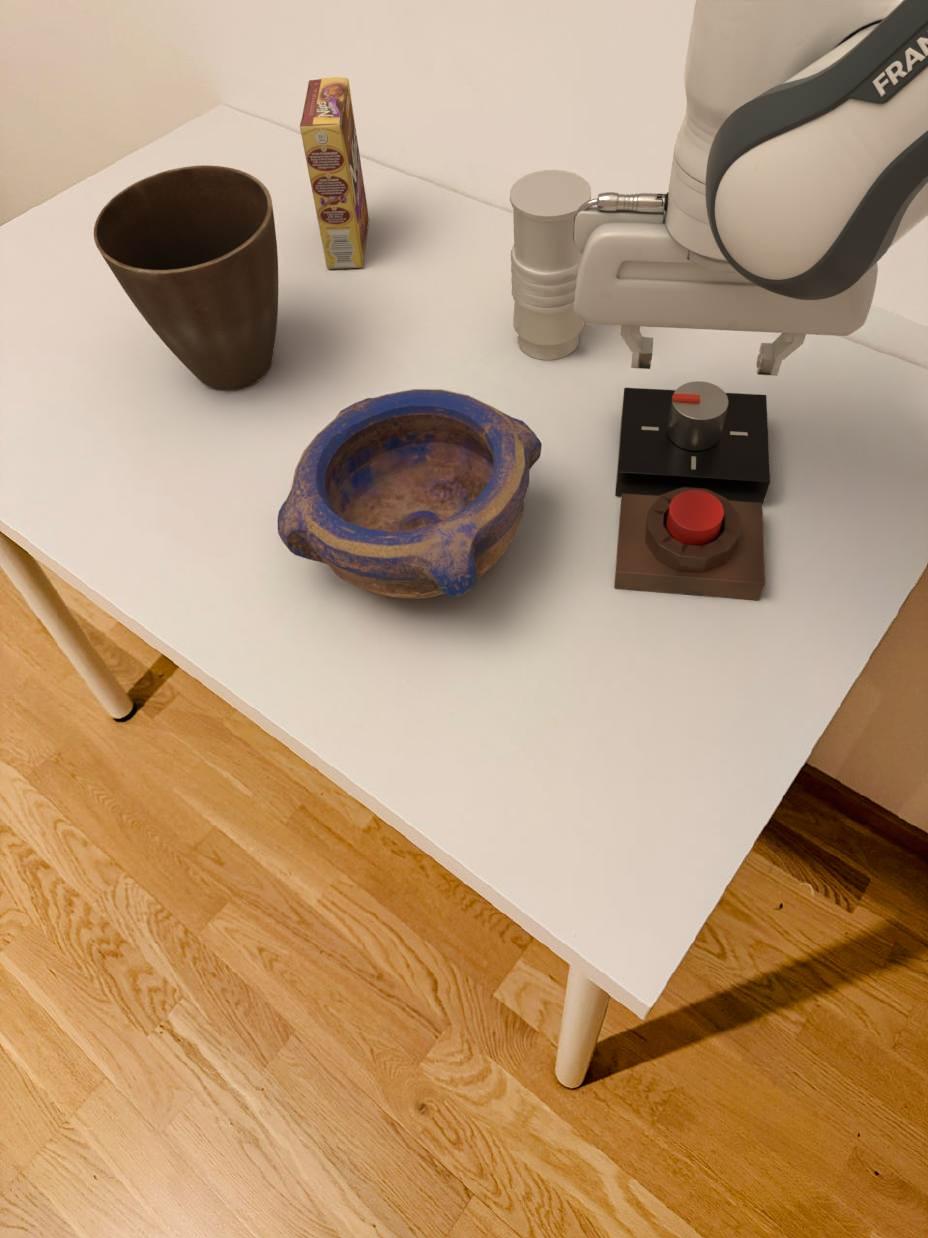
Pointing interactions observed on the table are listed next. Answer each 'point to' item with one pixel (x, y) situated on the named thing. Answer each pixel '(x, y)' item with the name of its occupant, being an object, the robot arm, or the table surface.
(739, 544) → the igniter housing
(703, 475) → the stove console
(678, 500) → the igniter button
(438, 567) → the bowl
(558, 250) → the beige ribbed cylinder
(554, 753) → the table surface
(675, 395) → the knob
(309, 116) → the candy box
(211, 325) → the flower pot
